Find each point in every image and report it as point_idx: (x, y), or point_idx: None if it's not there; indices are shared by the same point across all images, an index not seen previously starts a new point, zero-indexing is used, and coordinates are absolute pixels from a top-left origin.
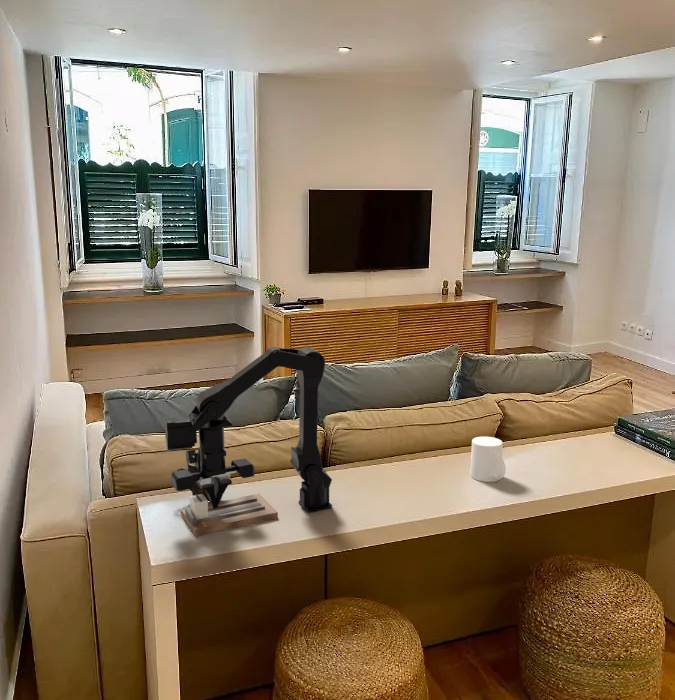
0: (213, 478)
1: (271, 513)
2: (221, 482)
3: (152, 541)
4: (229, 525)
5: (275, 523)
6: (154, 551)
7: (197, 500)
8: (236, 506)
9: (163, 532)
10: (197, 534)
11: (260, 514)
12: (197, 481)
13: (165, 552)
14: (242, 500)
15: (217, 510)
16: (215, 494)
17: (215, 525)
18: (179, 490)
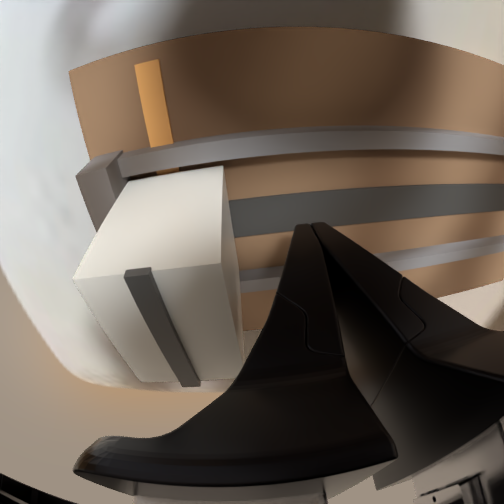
0: (473, 396)
1: (486, 284)
2: (405, 479)
3: (19, 294)
4: None
5: (462, 294)
6: (48, 342)
7: (159, 365)
8: (447, 166)
9: (30, 245)
10: None
11: (462, 283)
12: (140, 499)
13: (80, 356)
14: (496, 144)
15: (331, 171)
16: (350, 329)
17: (259, 327)
18: (43, 495)
